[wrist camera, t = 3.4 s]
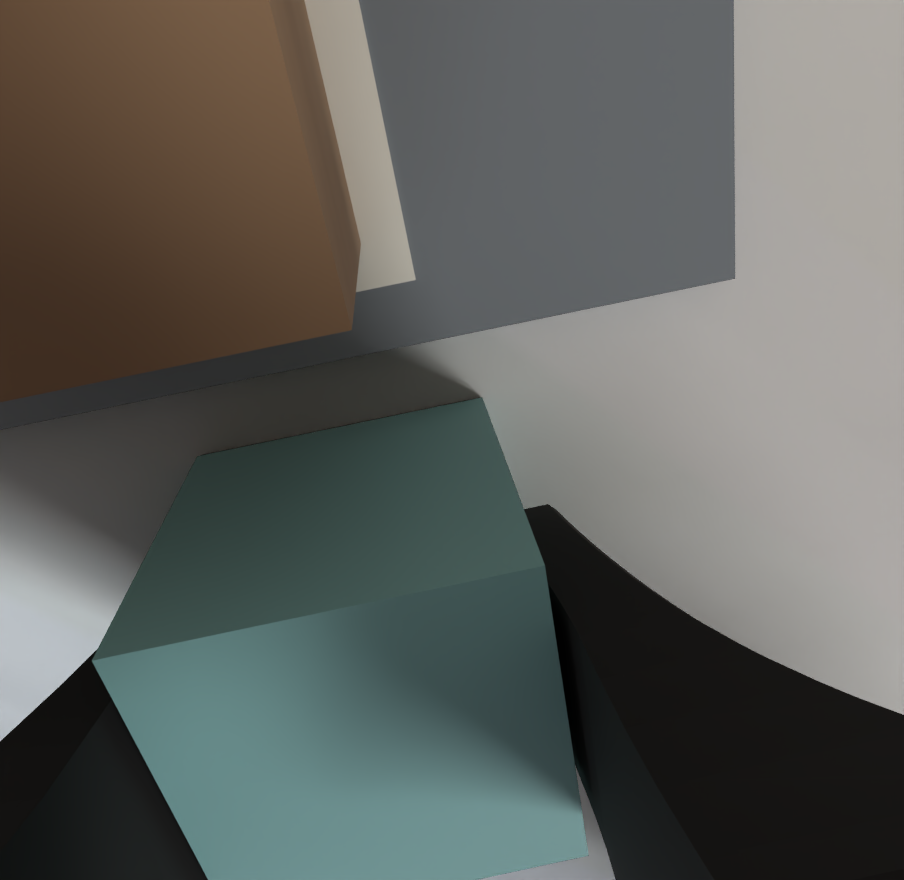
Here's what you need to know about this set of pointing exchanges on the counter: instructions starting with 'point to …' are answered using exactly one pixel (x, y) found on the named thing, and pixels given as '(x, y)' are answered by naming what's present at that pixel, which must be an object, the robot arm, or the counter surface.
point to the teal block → (352, 660)
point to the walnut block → (164, 188)
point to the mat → (503, 171)
